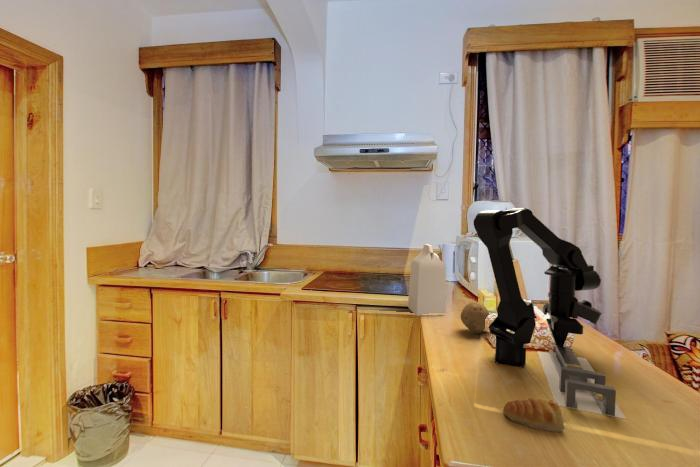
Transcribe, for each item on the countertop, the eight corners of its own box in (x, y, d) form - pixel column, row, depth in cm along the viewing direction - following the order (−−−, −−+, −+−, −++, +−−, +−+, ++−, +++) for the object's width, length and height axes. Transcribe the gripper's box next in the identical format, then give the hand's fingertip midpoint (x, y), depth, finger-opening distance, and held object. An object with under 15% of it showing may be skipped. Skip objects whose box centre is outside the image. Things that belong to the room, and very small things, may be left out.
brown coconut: (453, 330, 109) (454, 300, 109) (473, 326, 114) (474, 297, 113) (475, 339, 101) (476, 306, 101) (495, 335, 105) (496, 303, 105)
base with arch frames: (556, 408, 65) (557, 381, 65) (537, 353, 91) (538, 333, 91) (626, 422, 61) (628, 393, 61) (585, 360, 87) (586, 340, 87)
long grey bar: (569, 386, 72) (570, 372, 72) (555, 356, 88) (556, 345, 88) (586, 389, 71) (587, 375, 71) (569, 358, 87) (569, 347, 87)
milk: (407, 307, 137) (409, 243, 136) (435, 306, 138) (436, 243, 137) (416, 315, 125) (418, 246, 124) (446, 315, 126) (448, 246, 125)
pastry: (507, 427, 59) (508, 406, 59) (500, 406, 66) (500, 387, 66) (567, 436, 57) (568, 414, 57) (553, 413, 64) (554, 394, 64)
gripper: (610, 303, 78) (607, 368, 79) (588, 287, 96) (585, 341, 96) (555, 298, 83) (552, 360, 83) (543, 284, 100) (541, 336, 101)
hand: (559, 348), depth 91 cm, fingers closed
